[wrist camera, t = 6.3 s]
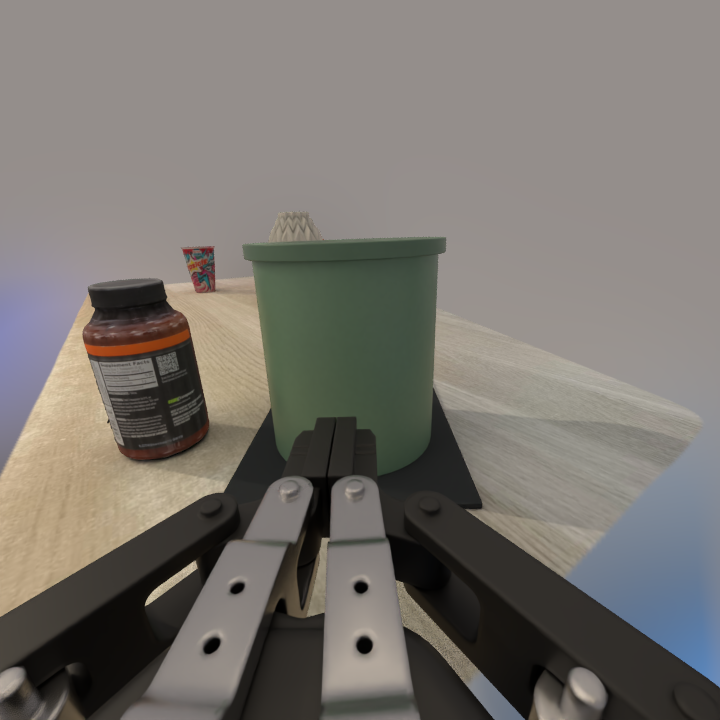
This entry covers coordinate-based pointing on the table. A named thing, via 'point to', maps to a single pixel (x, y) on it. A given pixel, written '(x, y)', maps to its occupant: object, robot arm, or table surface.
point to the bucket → (350, 337)
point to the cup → (201, 267)
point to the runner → (427, 473)
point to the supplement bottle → (145, 369)
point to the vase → (294, 228)
